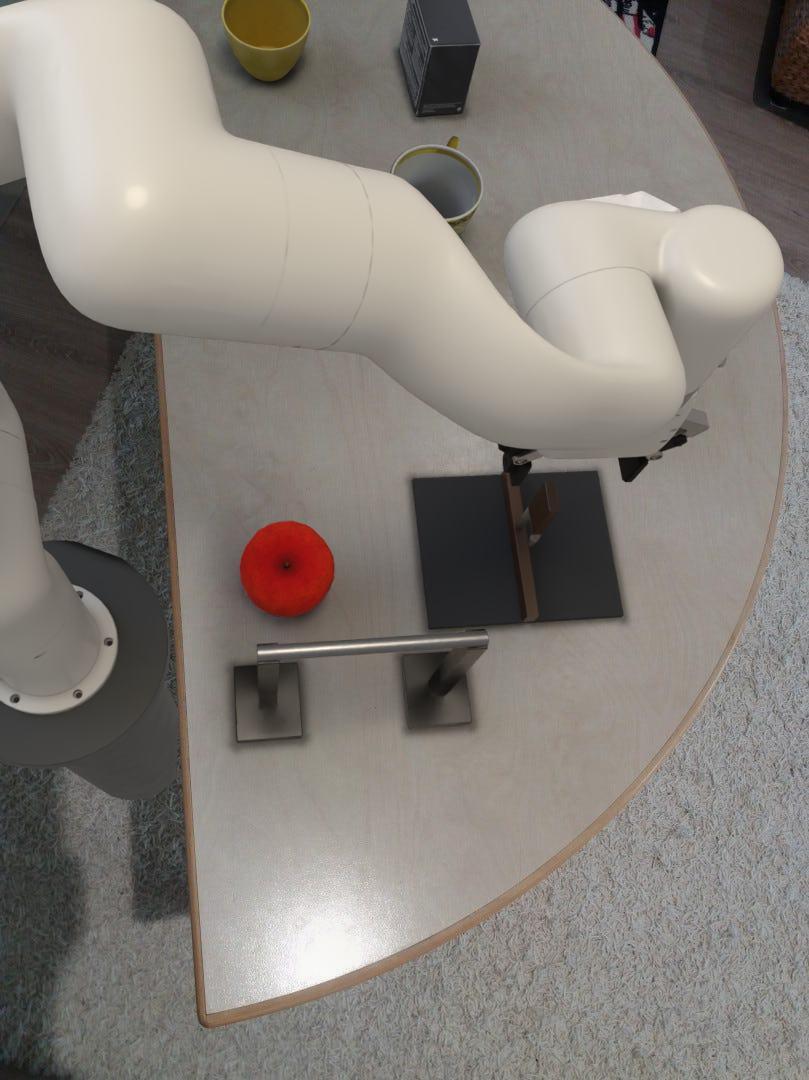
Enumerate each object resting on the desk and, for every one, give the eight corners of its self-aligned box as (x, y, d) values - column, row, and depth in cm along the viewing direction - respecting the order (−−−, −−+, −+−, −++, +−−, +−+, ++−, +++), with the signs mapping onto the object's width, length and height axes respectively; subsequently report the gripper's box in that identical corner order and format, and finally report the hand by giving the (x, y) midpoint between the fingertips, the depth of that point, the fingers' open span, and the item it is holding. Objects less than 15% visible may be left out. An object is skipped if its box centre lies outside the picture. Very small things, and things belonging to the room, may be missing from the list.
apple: (240, 543, 96) (238, 515, 89) (330, 542, 97) (334, 514, 90) (240, 631, 93) (238, 609, 86) (332, 629, 94) (338, 607, 87)
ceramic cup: (450, 290, 109) (468, 234, 100) (367, 259, 109) (376, 200, 100) (483, 203, 114) (502, 142, 105) (403, 174, 114) (415, 110, 105)
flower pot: (230, 100, 114) (228, 51, 108) (218, 35, 118) (215, -17, 111) (315, 95, 116) (317, 47, 110) (301, 31, 120) (302, -20, 113)
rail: (237, 743, 89) (228, 701, 70) (233, 668, 92) (224, 608, 72) (470, 724, 93) (523, 679, 74) (461, 652, 95) (510, 590, 76)
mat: (428, 629, 95) (429, 628, 95) (411, 480, 101) (412, 477, 100) (622, 616, 99) (624, 615, 98) (595, 472, 104) (597, 470, 103)
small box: (466, 114, 118) (484, 44, 109) (414, 118, 117) (428, 47, 107) (447, 47, 122) (462, -27, 112) (396, 50, 120) (408, -24, 111)
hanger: (522, 622, 96) (559, 581, 84) (500, 474, 102) (533, 416, 89) (533, 621, 96) (573, 580, 84) (511, 474, 102) (545, 415, 89)
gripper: (753, 313, 68) (657, 425, 84) (514, 314, 65) (461, 430, 81) (778, 409, 65) (674, 505, 81) (530, 415, 62) (473, 514, 78)
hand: (568, 468), depth 81 cm, fingers open, 9 cm apart
